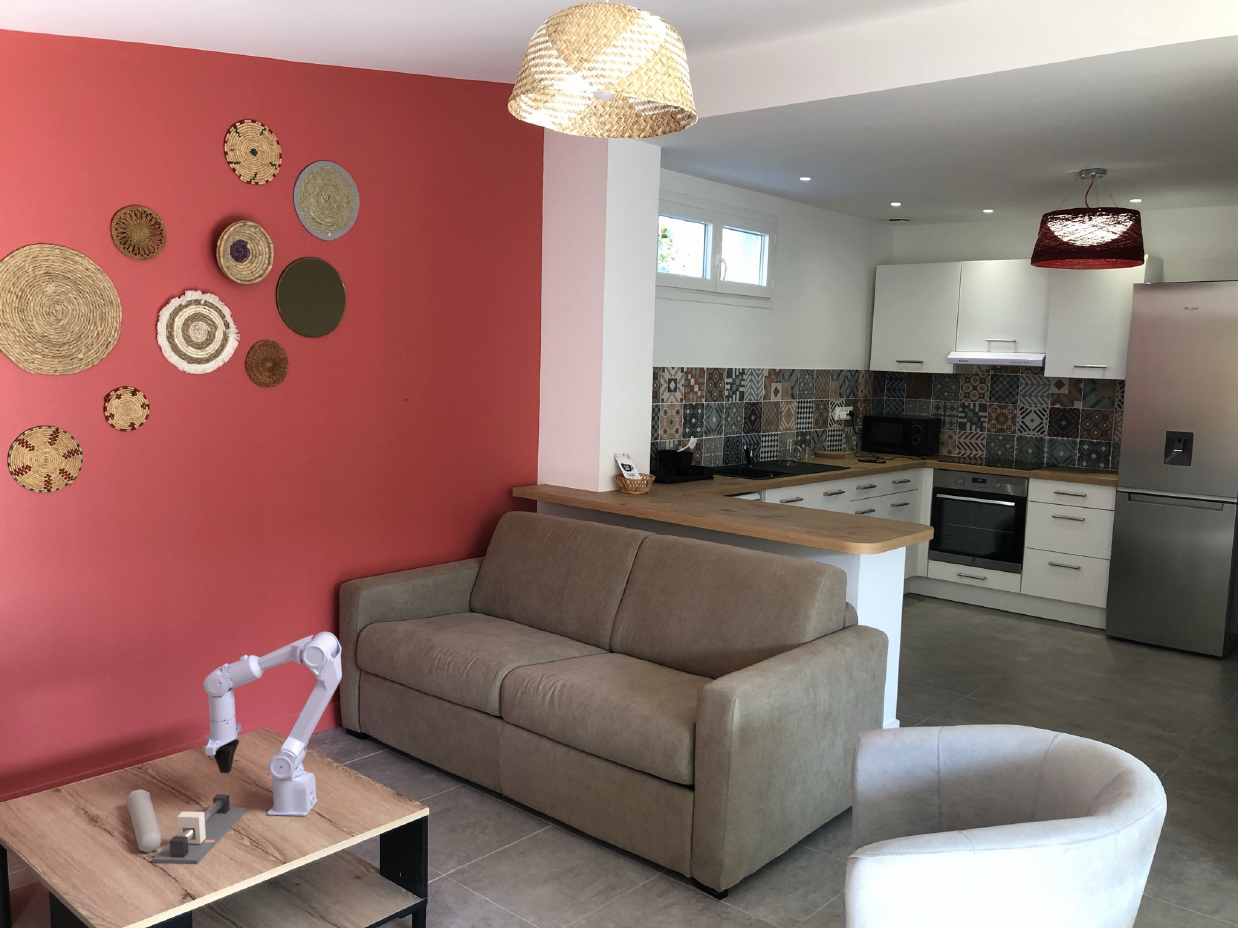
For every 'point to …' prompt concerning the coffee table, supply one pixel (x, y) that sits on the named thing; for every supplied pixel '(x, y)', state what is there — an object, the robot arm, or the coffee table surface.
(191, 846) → the rod board
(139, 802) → the tube
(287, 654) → the robot arm
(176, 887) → the coffee table surface
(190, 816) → the collar
